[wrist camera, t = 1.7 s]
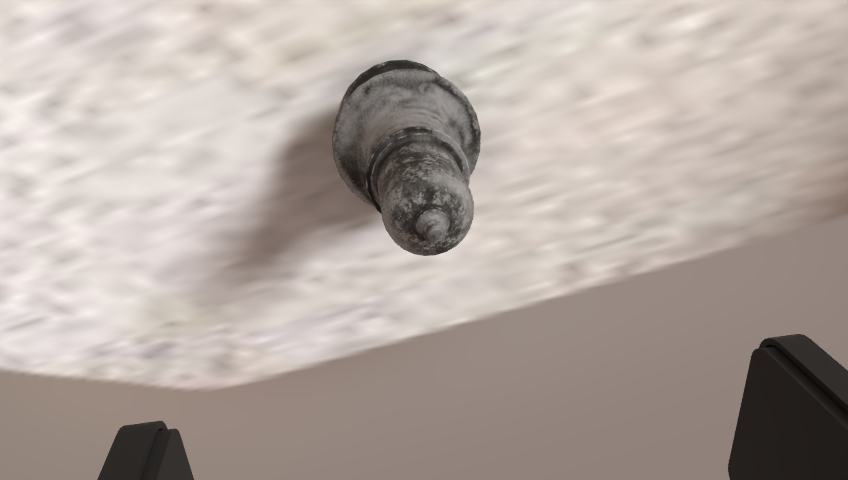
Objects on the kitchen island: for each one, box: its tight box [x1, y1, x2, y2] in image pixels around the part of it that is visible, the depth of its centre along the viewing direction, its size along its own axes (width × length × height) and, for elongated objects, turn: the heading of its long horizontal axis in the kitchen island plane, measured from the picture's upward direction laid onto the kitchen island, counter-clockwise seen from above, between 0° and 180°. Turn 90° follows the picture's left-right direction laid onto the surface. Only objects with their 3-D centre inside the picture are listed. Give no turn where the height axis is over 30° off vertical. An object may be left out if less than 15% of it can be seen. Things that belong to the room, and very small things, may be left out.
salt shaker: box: [332, 60, 481, 256], centre depth 23 cm, size 6×6×12 cm
